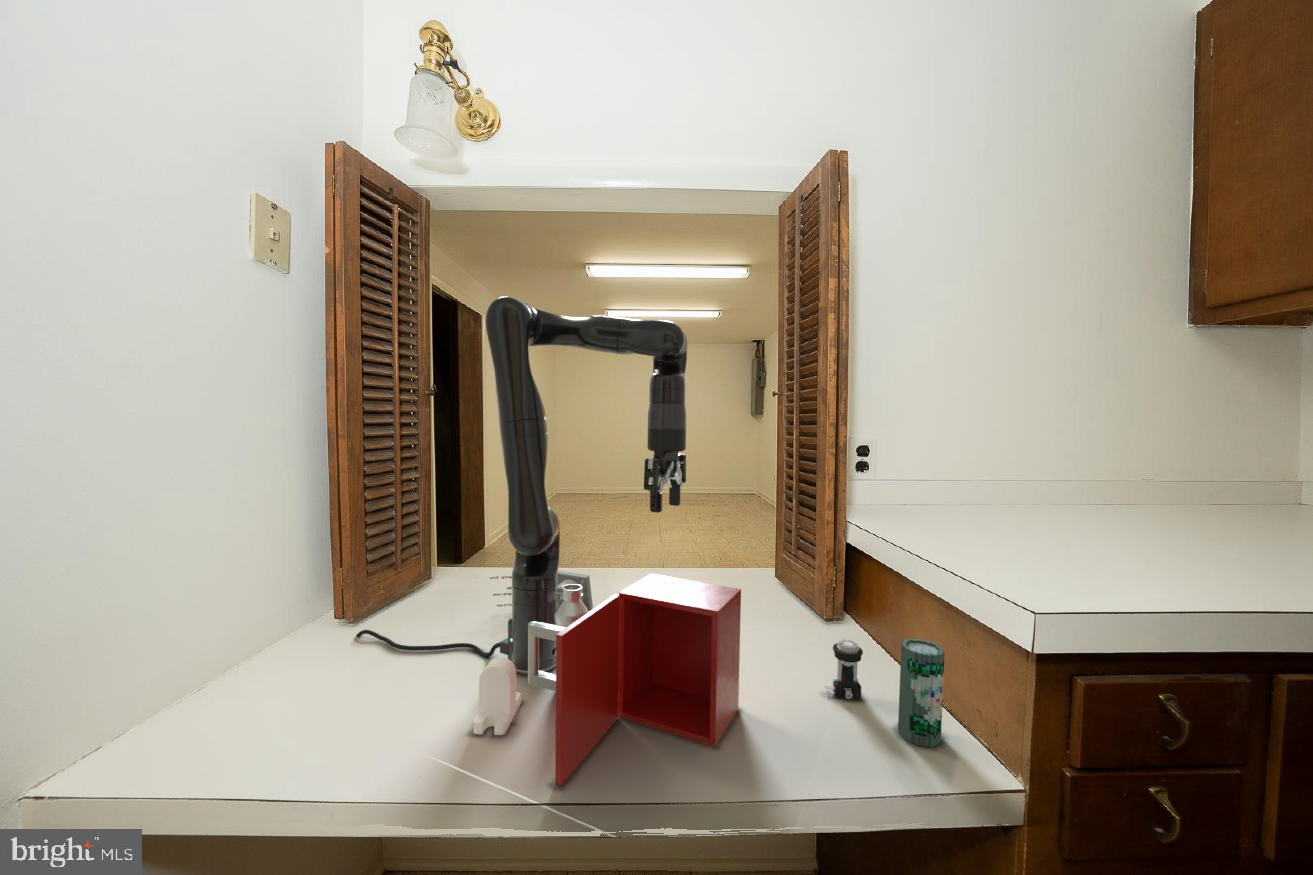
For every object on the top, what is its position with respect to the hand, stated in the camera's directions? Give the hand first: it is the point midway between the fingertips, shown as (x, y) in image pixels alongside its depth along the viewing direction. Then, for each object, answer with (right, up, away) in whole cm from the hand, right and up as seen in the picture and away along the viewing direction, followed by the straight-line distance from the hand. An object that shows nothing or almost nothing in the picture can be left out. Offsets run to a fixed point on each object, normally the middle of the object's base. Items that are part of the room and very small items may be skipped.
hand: (665, 508), depth 104 cm
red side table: (-15, -35, -20) cm, 43 cm away
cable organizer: (-29, -35, -13) cm, 47 cm away
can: (+42, -36, -16) cm, 57 cm away
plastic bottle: (-18, -34, -4) cm, 39 cm away
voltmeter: (-32, -32, +35) cm, 57 cm away
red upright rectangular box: (+2, -35, -11) cm, 36 cm away
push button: (+34, -35, -4) cm, 49 cm away
